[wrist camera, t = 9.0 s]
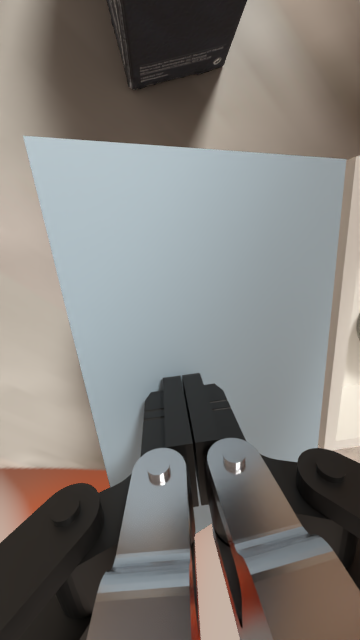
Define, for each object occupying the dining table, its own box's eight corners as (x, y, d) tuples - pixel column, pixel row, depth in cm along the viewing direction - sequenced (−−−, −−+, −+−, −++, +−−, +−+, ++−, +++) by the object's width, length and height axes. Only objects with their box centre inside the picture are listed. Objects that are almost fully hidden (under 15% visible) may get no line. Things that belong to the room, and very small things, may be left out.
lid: (22, 135, 6) (25, 143, 6) (131, 574, 11) (129, 563, 12) (346, 159, 11) (335, 162, 12) (316, 455, 17) (310, 450, 17)
